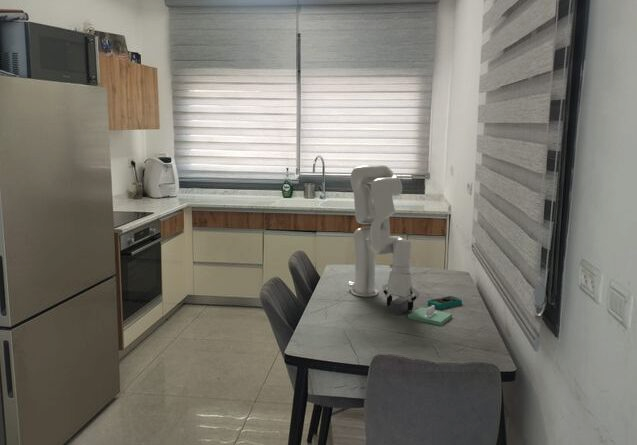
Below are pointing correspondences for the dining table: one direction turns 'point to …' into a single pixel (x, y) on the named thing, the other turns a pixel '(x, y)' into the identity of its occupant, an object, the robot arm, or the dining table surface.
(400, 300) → the block
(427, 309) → the board
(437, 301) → the digital multimeter
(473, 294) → the dining table surface
